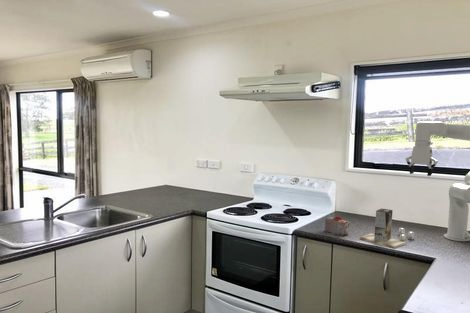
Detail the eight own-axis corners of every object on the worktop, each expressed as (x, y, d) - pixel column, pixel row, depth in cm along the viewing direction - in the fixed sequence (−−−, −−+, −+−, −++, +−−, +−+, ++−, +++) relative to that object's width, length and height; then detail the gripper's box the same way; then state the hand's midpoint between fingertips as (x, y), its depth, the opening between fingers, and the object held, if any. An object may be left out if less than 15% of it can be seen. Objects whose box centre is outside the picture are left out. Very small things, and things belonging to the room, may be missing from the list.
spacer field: (417, 238, 219) (417, 231, 219) (403, 243, 209) (404, 236, 208) (389, 231, 232) (389, 224, 232) (374, 235, 222) (375, 228, 221)
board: (405, 244, 207) (405, 242, 207) (394, 248, 199) (394, 246, 199) (371, 235, 222) (371, 233, 222) (359, 238, 214) (360, 236, 214)
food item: (350, 235, 222) (351, 218, 221) (343, 237, 217) (344, 220, 216) (330, 229, 232) (331, 213, 231) (322, 231, 227) (323, 215, 226)
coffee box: (386, 242, 205) (388, 212, 204) (373, 240, 209) (375, 210, 208) (391, 238, 213) (392, 209, 211) (379, 236, 216) (380, 208, 215)
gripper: (441, 144, 210) (439, 176, 211) (410, 142, 223) (408, 172, 225) (435, 145, 205) (433, 177, 207) (403, 143, 218) (401, 173, 220)
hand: (420, 174), depth 216 cm, fingers open, 9 cm apart
